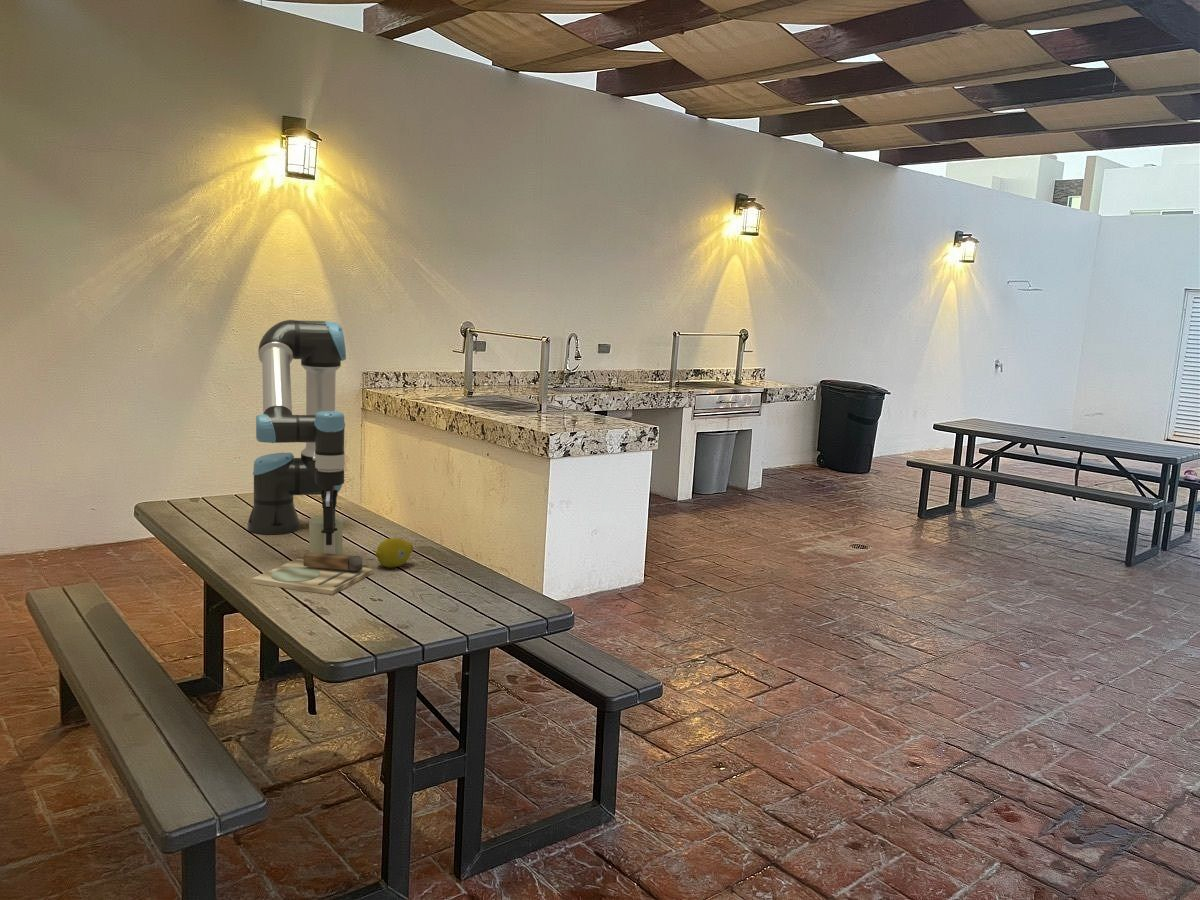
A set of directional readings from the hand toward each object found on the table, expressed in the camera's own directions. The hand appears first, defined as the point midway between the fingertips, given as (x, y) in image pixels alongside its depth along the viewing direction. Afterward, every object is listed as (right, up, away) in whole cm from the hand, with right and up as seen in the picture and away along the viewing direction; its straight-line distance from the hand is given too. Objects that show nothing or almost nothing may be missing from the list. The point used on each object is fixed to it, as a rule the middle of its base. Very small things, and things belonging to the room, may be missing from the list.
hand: (329, 555), depth 248 cm
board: (-1, -5, -8) cm, 10 cm away
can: (-3, -2, +9) cm, 9 cm away
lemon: (+16, -4, +5) cm, 18 cm away
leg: (+3, -3, -5) cm, 6 cm away
